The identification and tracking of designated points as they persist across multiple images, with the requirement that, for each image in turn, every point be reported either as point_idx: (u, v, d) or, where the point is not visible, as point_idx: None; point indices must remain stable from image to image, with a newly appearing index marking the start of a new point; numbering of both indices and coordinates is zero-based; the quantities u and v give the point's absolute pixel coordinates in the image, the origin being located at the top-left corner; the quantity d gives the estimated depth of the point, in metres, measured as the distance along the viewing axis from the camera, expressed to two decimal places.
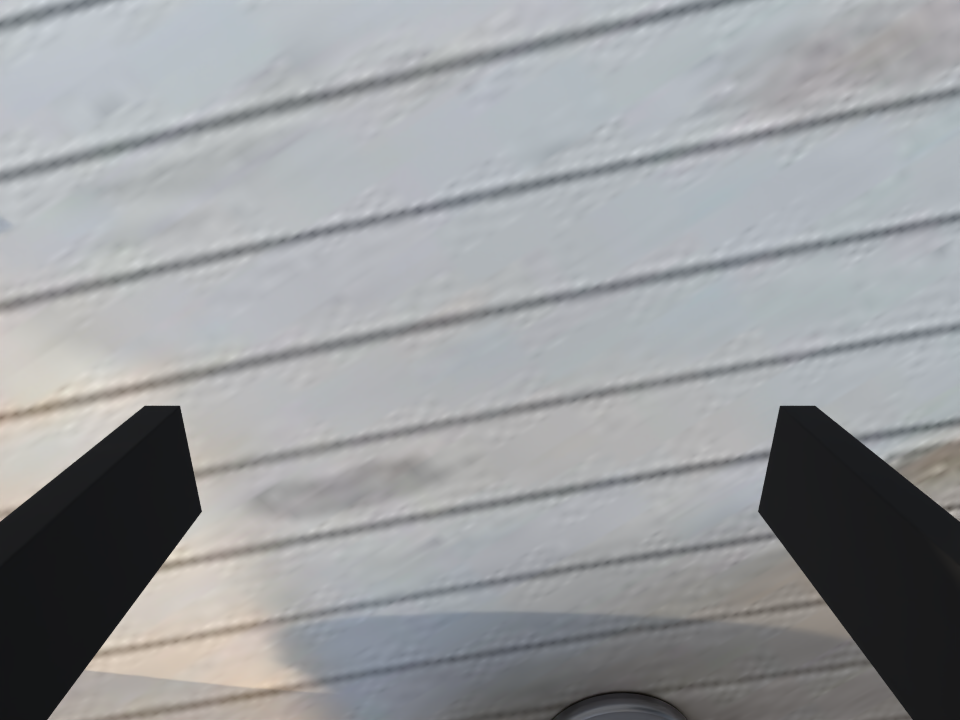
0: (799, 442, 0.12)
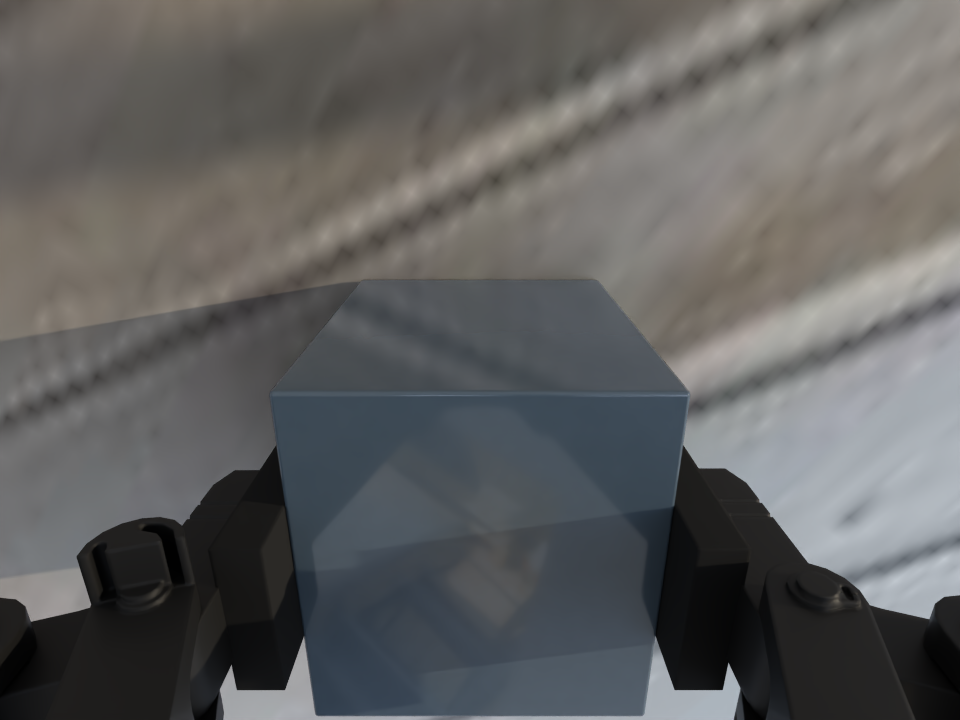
0: None
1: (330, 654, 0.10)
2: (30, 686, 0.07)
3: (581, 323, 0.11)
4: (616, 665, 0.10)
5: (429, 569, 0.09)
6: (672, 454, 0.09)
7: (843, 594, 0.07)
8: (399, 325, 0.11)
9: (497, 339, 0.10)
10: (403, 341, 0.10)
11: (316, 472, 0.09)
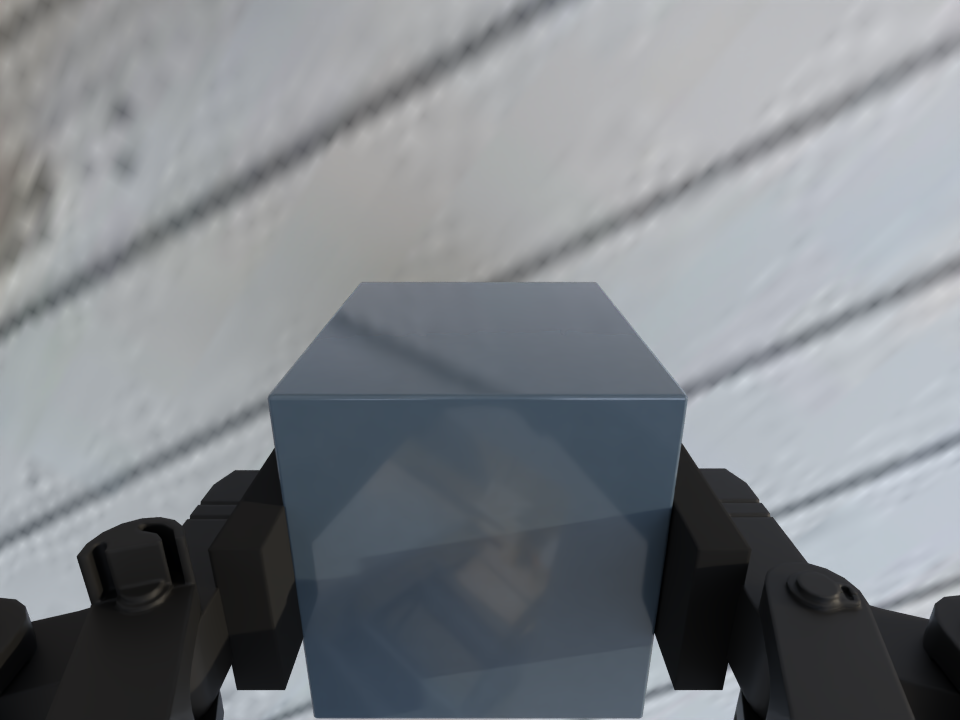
0: None
1: (329, 656, 0.10)
2: (30, 686, 0.07)
3: (579, 326, 0.11)
4: (614, 667, 0.10)
5: (426, 573, 0.09)
6: (670, 457, 0.09)
7: (843, 593, 0.07)
8: (397, 328, 0.11)
9: (495, 341, 0.10)
10: (402, 344, 0.10)
11: (314, 475, 0.09)
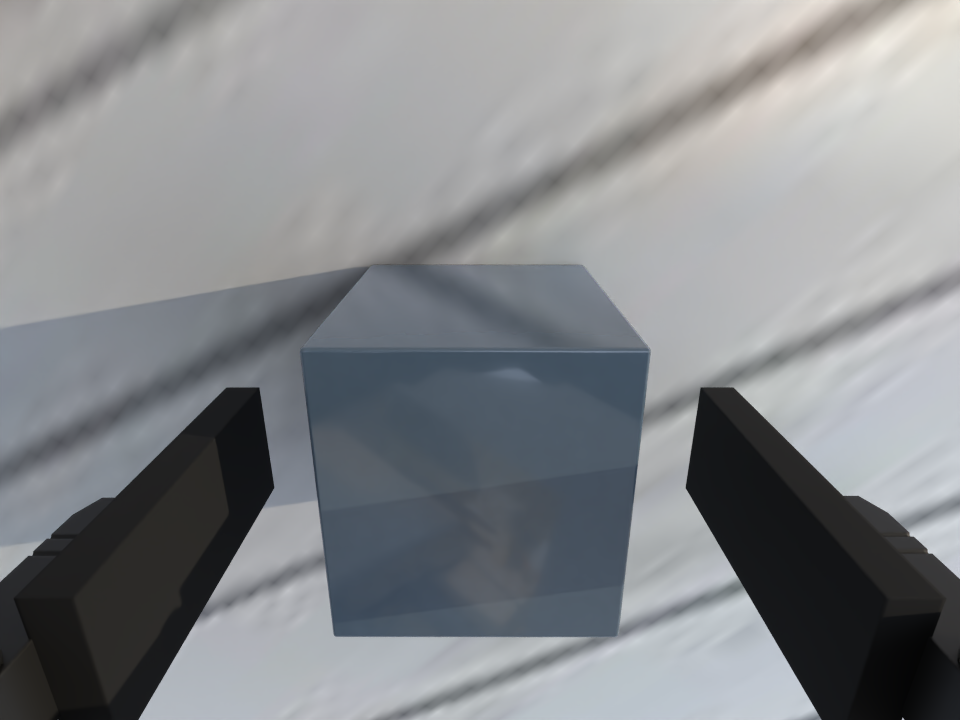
0: (713, 420, 0.12)
1: (348, 579, 0.12)
2: None
3: (565, 299, 0.13)
4: (593, 590, 0.12)
5: (432, 503, 0.11)
6: (637, 402, 0.10)
7: None
8: (406, 300, 0.13)
9: (491, 311, 0.12)
10: (410, 312, 0.12)
11: (338, 417, 0.10)
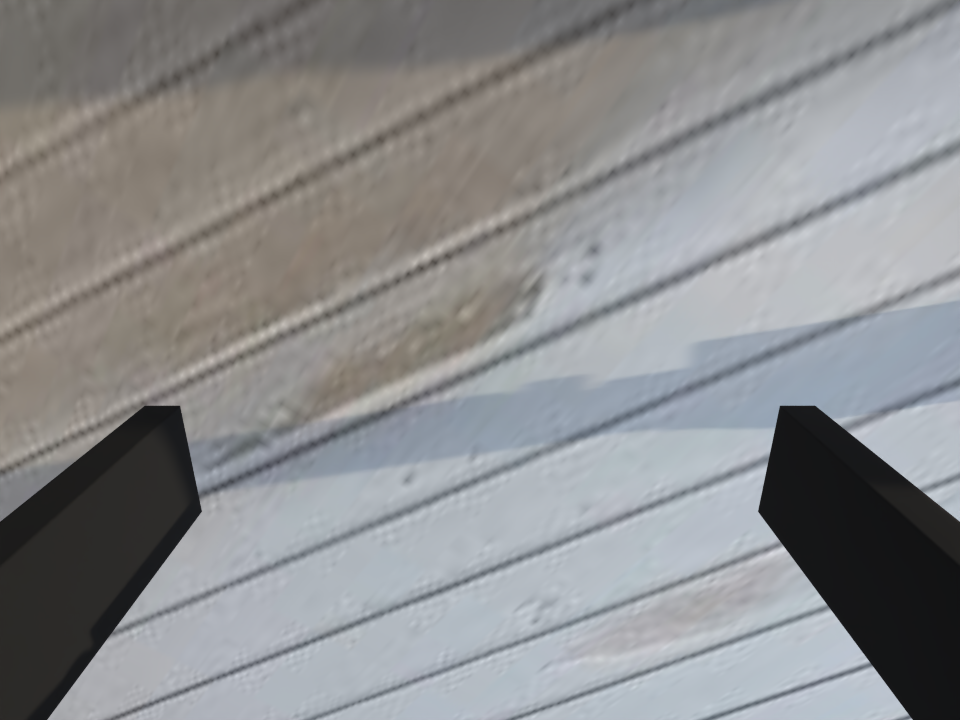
0: (799, 442, 0.12)
1: None
2: None
3: None
4: None
5: None
6: None
7: None
8: None
9: None
10: None
11: None
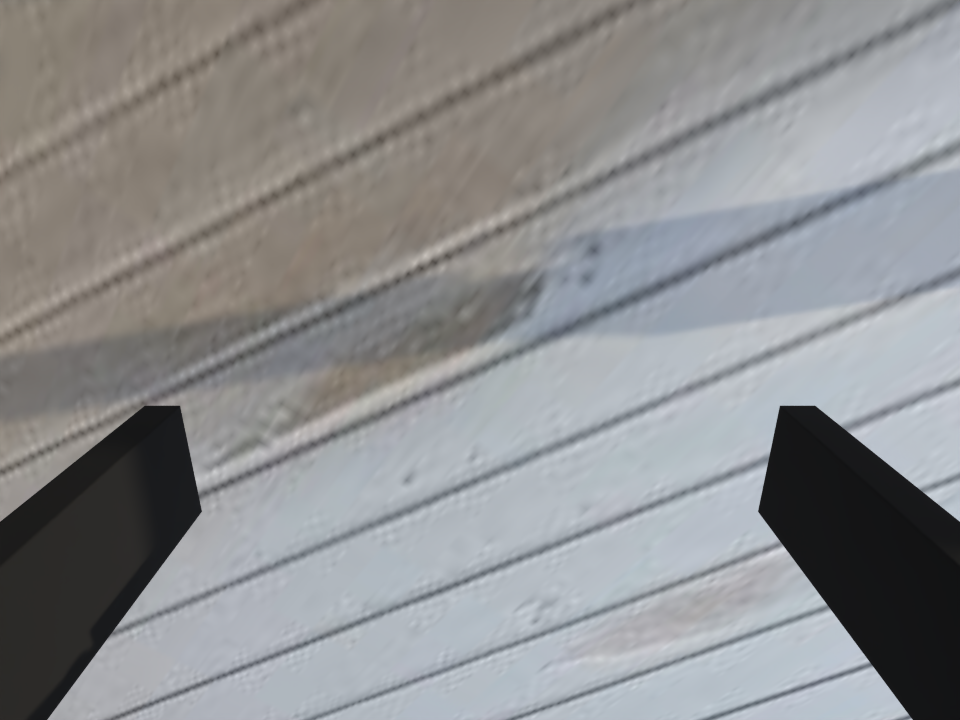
0: (799, 442, 0.12)
1: None
2: None
3: None
4: None
5: None
6: None
7: None
8: None
9: None
10: None
11: None
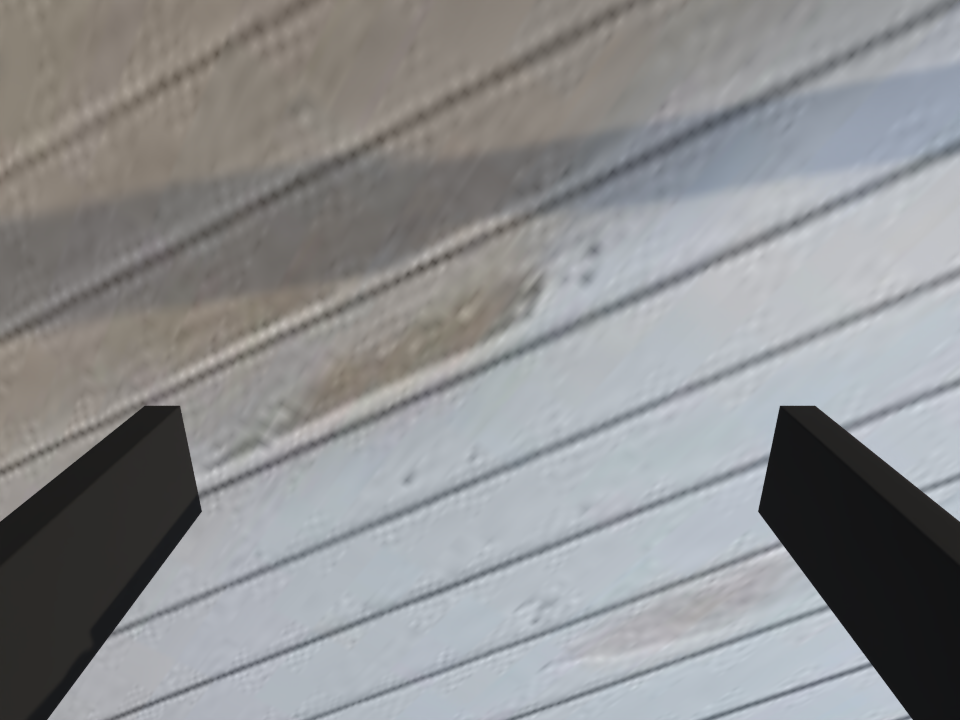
0: (799, 442, 0.12)
1: None
2: None
3: None
4: None
5: None
6: None
7: None
8: None
9: None
10: None
11: None
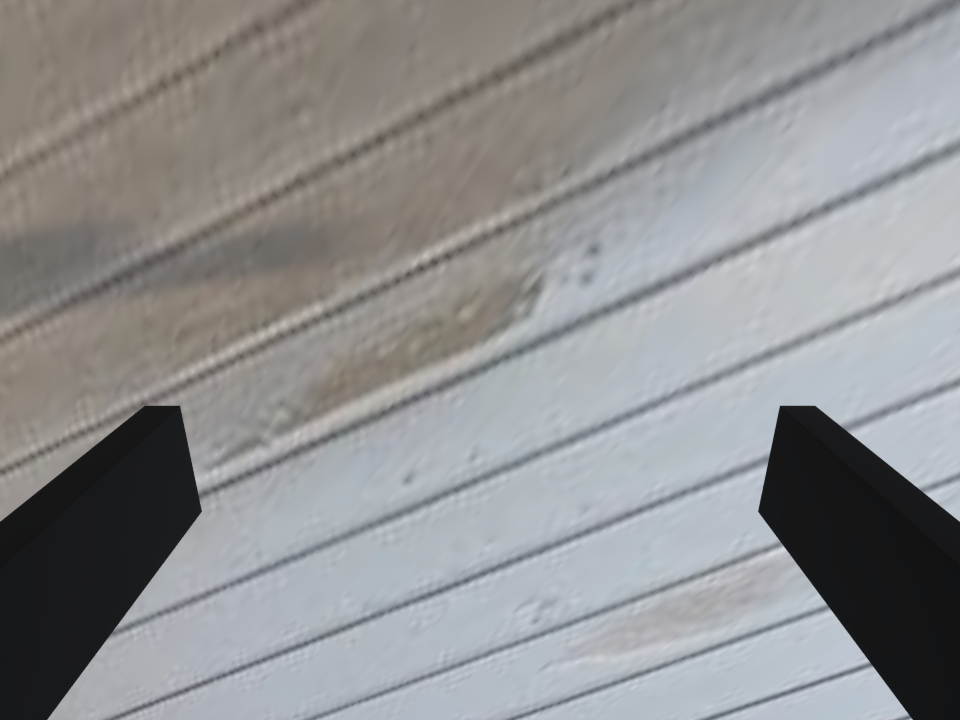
0: (799, 442, 0.12)
1: None
2: None
3: None
4: None
5: None
6: None
7: None
8: None
9: None
10: None
11: None
